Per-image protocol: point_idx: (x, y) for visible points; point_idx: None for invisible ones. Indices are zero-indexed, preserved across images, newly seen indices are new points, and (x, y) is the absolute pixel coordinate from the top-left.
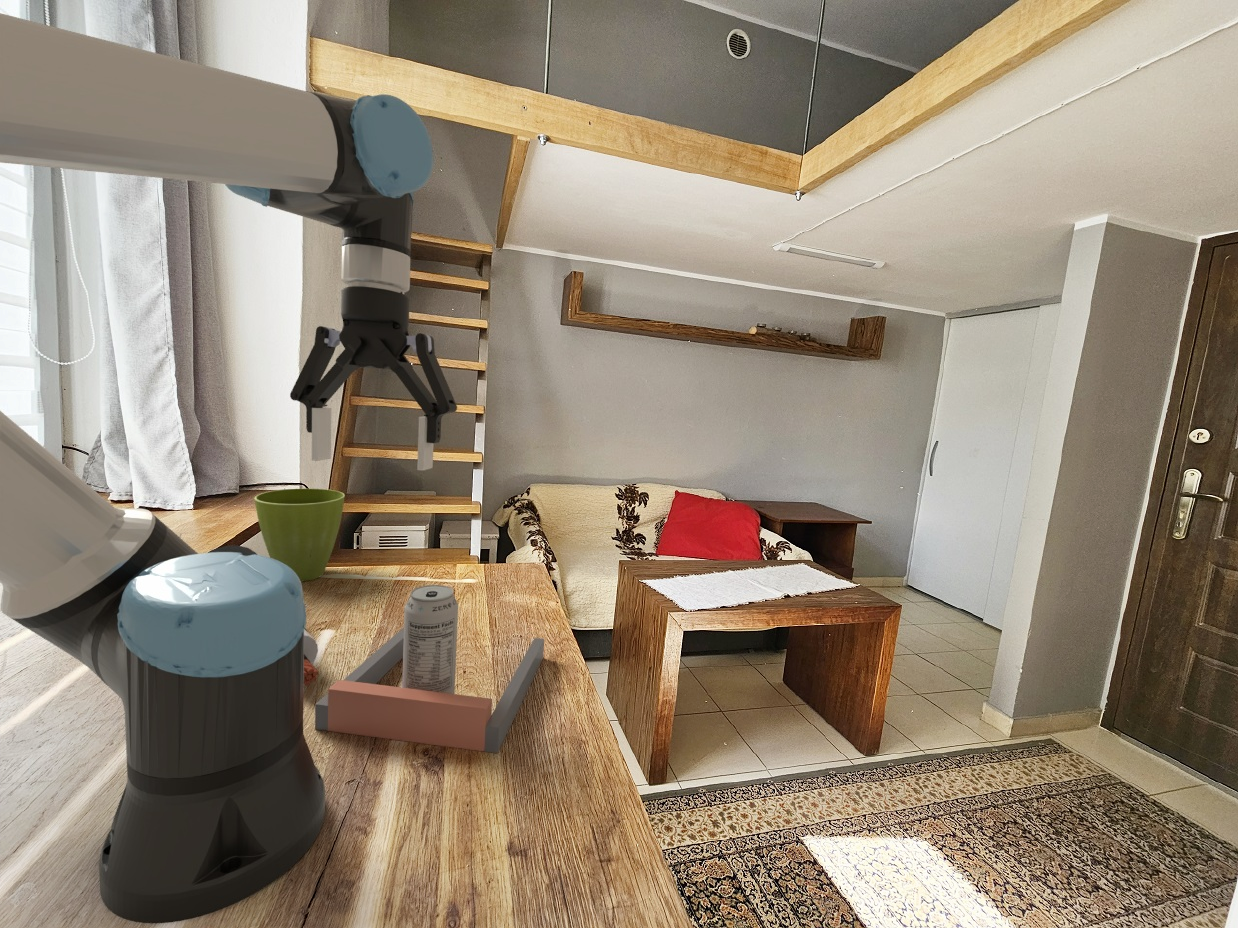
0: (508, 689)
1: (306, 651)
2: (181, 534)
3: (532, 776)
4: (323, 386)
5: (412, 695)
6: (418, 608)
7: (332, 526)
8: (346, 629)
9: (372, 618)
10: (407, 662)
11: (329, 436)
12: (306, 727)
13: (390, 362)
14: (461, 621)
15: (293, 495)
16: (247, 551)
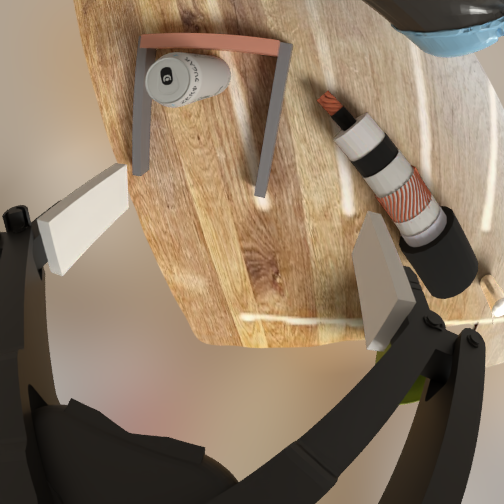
0: (141, 84)
1: (341, 133)
2: (492, 323)
3: (125, 23)
4: (393, 368)
5: (202, 38)
6: (178, 55)
7: (380, 356)
8: (333, 215)
9: (316, 238)
10: (209, 58)
11: (360, 282)
12: (301, 48)
13: (2, 384)
14: (229, 233)
15: (420, 393)
16: (444, 288)
